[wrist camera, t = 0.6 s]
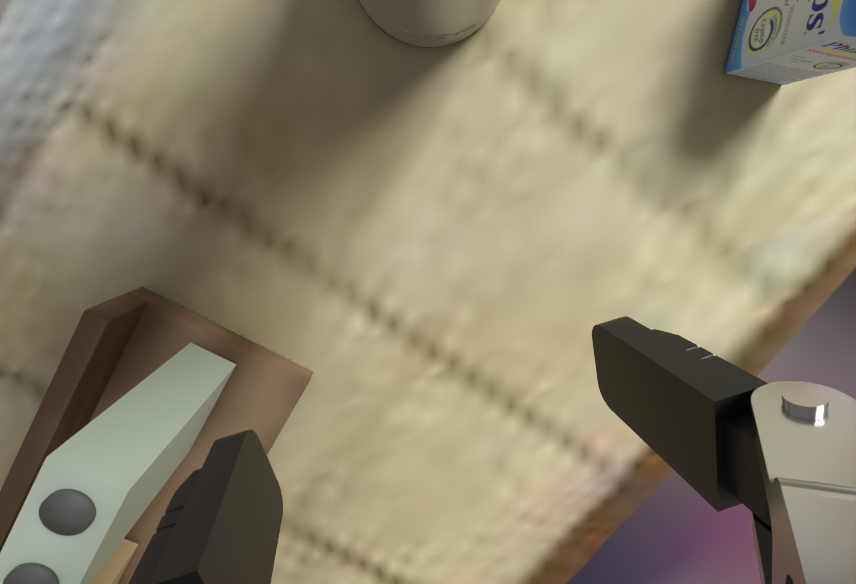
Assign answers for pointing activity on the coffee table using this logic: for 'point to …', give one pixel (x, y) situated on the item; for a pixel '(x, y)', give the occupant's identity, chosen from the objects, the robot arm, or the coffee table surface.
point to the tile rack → (128, 366)
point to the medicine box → (793, 39)
